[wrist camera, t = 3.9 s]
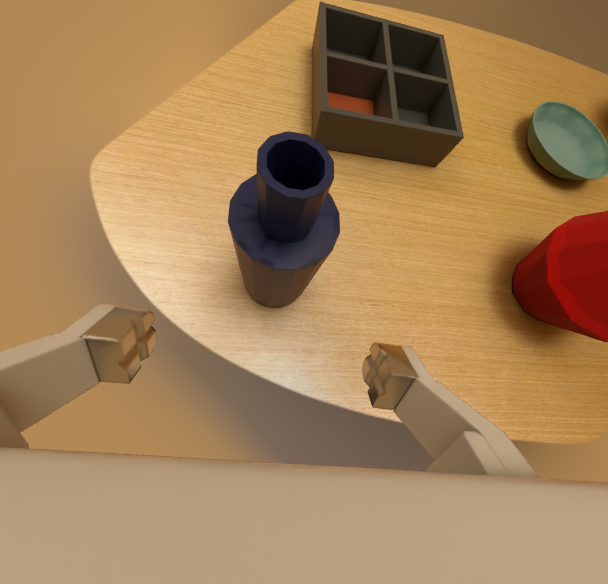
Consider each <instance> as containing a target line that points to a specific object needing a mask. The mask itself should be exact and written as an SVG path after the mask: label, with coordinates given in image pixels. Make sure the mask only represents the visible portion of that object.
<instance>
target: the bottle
mask: <svg viewBox="0 0 608 584" xmlns="http://www.w3.org/2000/svg"><path fill="white" fill-rule="evenodd" d="M512 293H513V295H514V297H515V298H516V300H517V302H518V303H519V305H520V307H521V308H522V310H523V311H525V312H526V313H528V314H529V315H531V316H533V317H534V318H536V319H537V320H539V321H542V322H545V323H548V324H551V325H554V326H557V327H560V328H564V329H567V330H570V331H573V332H576V333H579V334H582V335H585V336H588V337H591V338H594V339H597V340H600V341H604V342H608V211H605V212H599V213H593V214H587V215H582V216H576V217H573V218H572V219H570V220H568V221H567V222H565V223H563V224H562V225H560V226H559V227H557V228H555V229H554V230H553V231H552V232H551V233H550V234H549V235H548V236H547V237H546V238H545V239H544V240H543V241H542V242H541V243H540V244H539V245H538V246H536V247H535V248H534V249H533V250H532V251H531V252H530V253H529V254H528V255H527V256H526V257H525V258H524V259H523V260H522V261H521V262H520V263H519V264H518V265H517V266H516V269H515V271H514V274H513V276H512Z"/></svg>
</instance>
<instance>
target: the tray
mask: <svg viewBox="0 0 608 584" xmlns="http://www.w3.org/2000/svg"><path fill="white" fill-rule="evenodd" d="M312 138H313V139H315V140H316V141H318V142H319V143H321V144H322V145H323V146H324V147H325V148H326V149H328V150H335V151H341V152H347V153H353V154H359V155H365V156H372V157H378V158H384V159H390V160H396V161H402V162H409V163H415V164H421V165H427V166H433V167H436V166H437V165H438V164H439V163H440V162H441V161H442V160H443V159H444V158H445V157H446V156H447V155H448V154H449V152H450V151H451V150H452V149H453V148H454V147H455V146H456V145H457V144H458V143H459V142H460V141H461V140H462V139H463V138H464V137H463V132H462V126H461V121H460V116H459V111H458V106H457V101H456V96H455V91H454V86H453V81H452V76H451V71H450V65H449V60H448V55H447V50H446V45H445V40H444V35H441V34H437V33H434V32H430V31H426V30H422V29H419V28H415V27H411V26H408V25H404V24H400V23H397V22H393V21H389V20H386V19H382V18H378V17H374V16H371V15H367V14H363V13H360V12H356V11H352V10H349V9H345V8H341V7H337V6H334V5H330V4H326V3H323V2H320V4H319V10H318V16H317V22H316V28H315V34H314V40H313V46H312Z"/></svg>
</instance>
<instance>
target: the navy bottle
mask: <svg viewBox="0 0 608 584" xmlns="http://www.w3.org/2000/svg"><path fill="white" fill-rule="evenodd" d="M333 179H334V162H333V159H332V158H331V156H330V155H329V153H328V151H327V150H326V148H325V147H324V146H323V145H322V144H321V143H319V142H318V141H316V140H315V139H313V138H312V137H310V136H308V135H306V134H300V133H295V132H289V131H288V132H283V133H280V134H276V135H273V136H270V137H269V138H268V139H267V140H266V141H265V142H264V143H263V144H262V146H261V147H260V148H259V149H258V154H257V174H256V175H254V176H252V177H251V178H249V179H248V180H246V181H245V182H243V183H242V184H241V185H240V186H239V188H238V189H237V191H236V192H235V194H234V196H233V197H232V199H231V200H230V206H229V216H228V223H229V227H230V231H231V235H232V239H233V243H234V246H235V250H236V254H237V258H238V262H239V266H240V270H241V274H242V277H243V281H244V284H245V287H246V290H247V292H248V293H249V295H250V296H251V297H252V298H253V299H254V300H255V301H256V302H257V303H259V304H261V305H263V306H266V307H271V308H279V307H284V306H287V305H289V304H291V303H292V302H294V301H295V300H296V299H297V298H298V297H299V296H300V295H301V293H302V292H303V291H304V289H305V288H306V286H307V285H308V284H309V282H310V281H311V279H312V278H313V277H314V275H315V274H316V272H317V271H318V269H319V268H320V267H321V265H322V264H323V262H324V261H325V260H326V258H327V257H328V255H329V254H330V253H331V251H332V250H333V248H334V245H335V243H336V241H337V238H338V236H339V233H340V222H339V212H338V210H337V207H336V205H335V203H334V201H333V199H332V196H331V195H330V194H329V193H328V191H329V189H330V186H331V184H332V182H333Z"/></svg>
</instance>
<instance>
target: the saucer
mask: <svg viewBox="0 0 608 584" xmlns="http://www.w3.org/2000/svg"><path fill="white" fill-rule="evenodd" d="M527 141H528V146H529V149H530V151H531V153H532V155H533V156H534V158H535V159H536V161H537V162H538V163H539V164H540V165H541V166H542V167H543V168H544V169H546V170H547V171H548V172H550V173H551V174H553V175H555V176H557V177H560V178H564V179H571V180H591V179H598V178H601V177H603V176H605V175H606V174H607V173H608V144H607V142H606V140H605V138H604V137H603V135H602V133H601V132H600V130H599V129H598V128H597V127H596V125H595V124H594V123H593V122H592V121H591V120H590V119H589V118H588V117H587V116H585V115H584V114H583V113H582V112H580V111H579V110H577V109H575V108H574V107H572V106H569V105H567V104H565V103H562V102H557V101H548V102H544V103H542V104H540V105H539V106H538V107H537V108H536V109H535V111H534V113H533V115H532V118H531V120H530V123H529V128H528V133H527Z"/></svg>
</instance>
